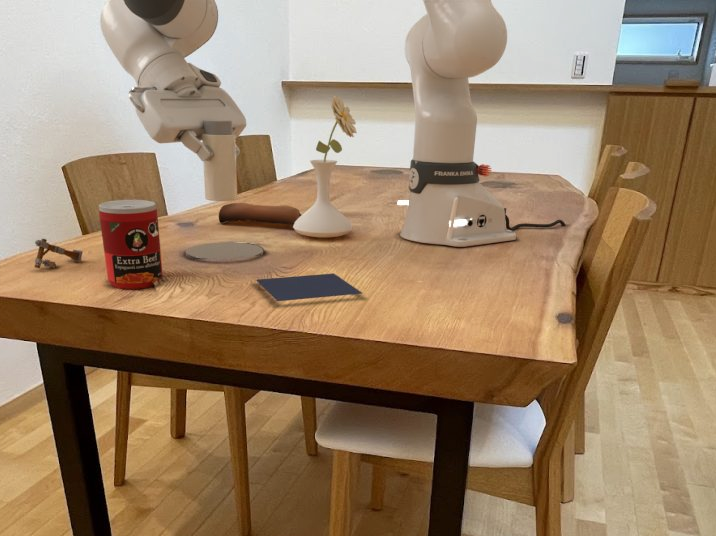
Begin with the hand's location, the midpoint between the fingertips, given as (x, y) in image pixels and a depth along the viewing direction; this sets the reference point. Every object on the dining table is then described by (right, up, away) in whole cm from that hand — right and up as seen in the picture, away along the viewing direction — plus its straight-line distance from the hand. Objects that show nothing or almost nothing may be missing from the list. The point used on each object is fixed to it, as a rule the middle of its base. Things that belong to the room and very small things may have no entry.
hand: (222, 156), depth 106 cm
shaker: (-1, -6, +3) cm, 7 cm away
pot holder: (+14, -23, -13) cm, 31 cm away
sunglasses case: (+4, -3, +32) cm, 32 cm away
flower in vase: (+16, -8, +23) cm, 29 cm away
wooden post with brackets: (-25, -18, -3) cm, 31 cm away
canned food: (-11, -22, -11) cm, 27 cm away
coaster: (-1, -14, +7) cm, 16 cm away
